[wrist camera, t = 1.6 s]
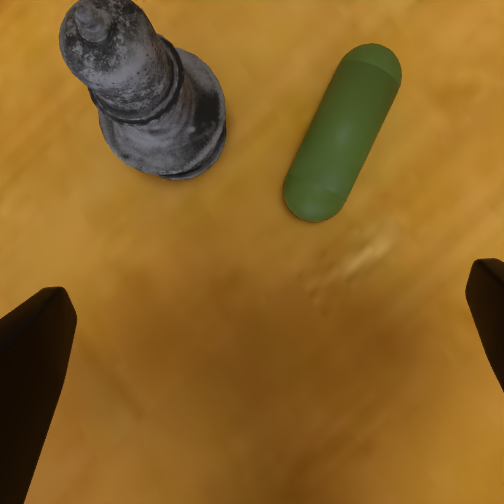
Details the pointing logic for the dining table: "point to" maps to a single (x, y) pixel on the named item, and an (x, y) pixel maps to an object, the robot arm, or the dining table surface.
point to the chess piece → (145, 89)
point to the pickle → (342, 132)
